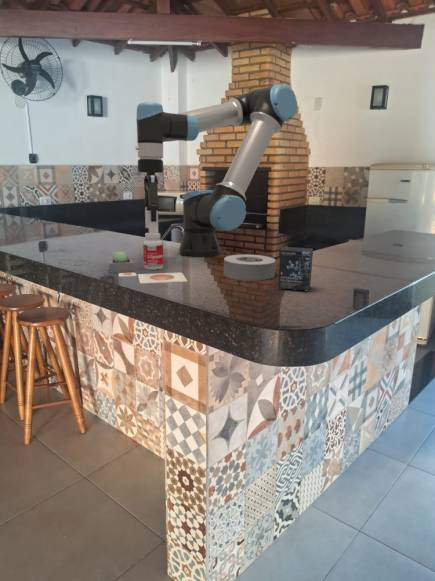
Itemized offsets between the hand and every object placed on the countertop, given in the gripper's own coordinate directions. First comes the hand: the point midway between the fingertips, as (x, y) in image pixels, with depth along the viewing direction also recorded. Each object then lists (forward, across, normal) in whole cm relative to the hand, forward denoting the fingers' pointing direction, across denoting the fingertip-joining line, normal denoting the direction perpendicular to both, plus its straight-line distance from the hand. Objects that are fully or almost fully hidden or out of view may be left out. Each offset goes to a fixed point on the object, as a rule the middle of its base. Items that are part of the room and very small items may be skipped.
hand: (151, 230), depth 137 cm
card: (+12, +9, -8) cm, 17 cm away
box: (+12, +33, +34) cm, 49 cm away
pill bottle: (+12, 0, 0) cm, 12 cm away
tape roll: (+12, +15, +28) cm, 33 cm away
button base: (+12, +2, -10) cm, 15 cm away
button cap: (+10, +2, -10) cm, 14 cm away
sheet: (+12, +15, +2) cm, 19 cm away
